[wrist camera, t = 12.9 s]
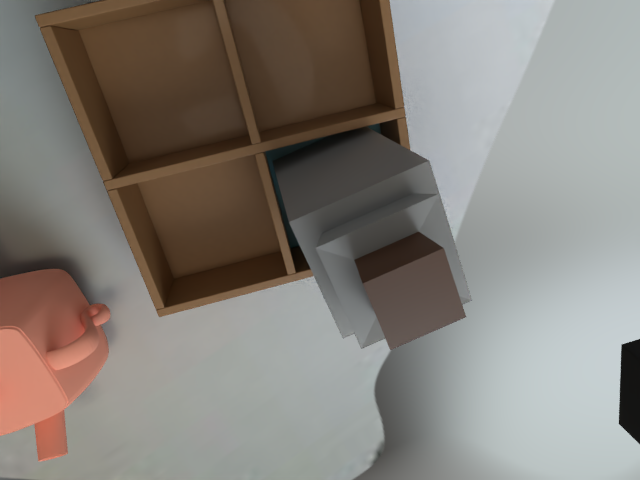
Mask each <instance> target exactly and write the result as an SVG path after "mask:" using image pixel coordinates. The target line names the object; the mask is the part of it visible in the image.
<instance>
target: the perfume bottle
mask: <svg viewBox="0 0 640 480" xmlns="http://www.w3.org/2000/svg"><path fill="white" fill-rule="evenodd" d="M272 162H273V166H274V169H275V173H276V177H277V180H278V184H279V188H280V191H281V195H282V199H283V203H284V206H285V210H286V214H287V217H288V221H289V224H290V226H291V228H292V230H293V232H294V234H295V236H296V239H297V241H298V243H299V245H300V247H301V249H302V252H303V254H304V256H305V258H306V260H307V262H308V264H309V267H310V269H311V271H312V273H313V275H314V277H315V279H316V282H317V284H318V286H319V288H320V290H321V292H322V295H323V297H324V299H325V301H326V303H327V305H328V307H329V310H330V312H331V314H332V316H333V318H334V320H335V322H336V325H337V327H338V329H339V331H340V333H341V335H342V337H343V338H345V337H348V336H350V335H352V334H355V336H356V338H357V340H358V343H359V345H360V347H361V349H362V348H364V347H367V346H369V345H371V344H374V343H376V342H378V341H380V340H383V339H385V338H386V341H387V343H388V345H389V348H390V350H392V349H394V348H396V347H399V346H401V345H403V344H406V343H408V342H410V341H412V340H415V339H417V338H419V337H421V336H424V335H426V334H428V333H431V332H433V331H435V330H438V329H440V328H442V327H444V326H447V325H449V324H451V323H453V322H456V321H458V320H460V319H463V318H465V317H466V315H465V312H464V309H463V306H462V305H463V304H465V303H467V302H469V301H472V299H471V295H470V292H469V289H468V286H467V281H466V278H465V275H464V272H463V268H462V265H461V262H460V259H459V256H458V252H457V249H456V246H455V243H454V239H453V236H452V233H451V230H450V226H449V223H448V220H447V217H446V213H445V210H444V207H443V204H442V201H441V197H440V194H439V191H438V188H437V184H436V181H435V178H434V175H433V171H432V168H431V165H430V162H429V160H427V159H425V158H423V157H422V156H420V155H418V154H416V153H414V152H412V151H410V150H409V149H407V148H405V147H403V146H401V145H399V144H397V143H396V142H394V141H392V140H390V139H388V138H386V137H385V136H383V135H381V134H379V133H377V132H375V131H373V130H372V129H370V128H368V127H362V128H358V129H354V130H350V131H346V132H342V133H338V134H334V135H330V136H328V137H326V138H324V139H321V140H319V141H317V142H315V143H312V144H310V145H308V146H305V147H303V148H301V149H299V150H296V151H294V152H292V153H290V154H287V155H285V156H283V157H281V158H278V159H276V160H274V161H272Z"/></svg>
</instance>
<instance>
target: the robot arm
mask: <svg viewBox="0 0 640 480" xmlns="http://www.w3.org/2000/svg"><path fill="white" fill-rule="evenodd" d="M619 409H620V410H619V424H620V425H621V426H622V427H623V428H624V429H625V430H626V431H627V432H628V433H629V434H630V435H631V436H632V437H633V438H634V439H635V440H636V441H637V442H638V443H639V444H640V339H639V340H635V341H632V342H629V343H626V344H623V345H622V351H621V379H620V408H619Z"/></svg>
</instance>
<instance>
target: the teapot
mask: <svg viewBox="0 0 640 480" xmlns="http://www.w3.org/2000/svg"><path fill="white" fill-rule="evenodd" d="M109 318H110V310H109V308H108V307H107V306H106V305H104V304H93V305H89V303H88V301H87V300H86V298H85V296H84V295H83V293H82V292H81V290H80V289H79V287H78V285H77V284H76V283H75V281H74V280H73V278H72V277H71V276H70V275H69V274H68V273H67V272H66V271H64V270H61V269H45V270H38V271H32V272H27V273H23V274H18V275H13V276H9V277H5V278H1V279H0V436H1V435H5V434H8V433H11V432H14V431H17V430H20V429H23V428H25V427H28V426H30V425H33V424H35V434H36V443H37V452H38V461H45V460H49V459H53V458H57V457H60V456H63V455H66V454H68V450H67V438H66V427H65V416H64V409H65V408H66V407H68V406H69V405H70V404H71V403H72V402H73V401H74V400H75V399H76V398H77V397H78V396H79V395H80V394H81V393H82V392H83V391H84V390H85V389H86V388H87V387H88V386H89V385H90V383H91V382H92V381H93V380H94V378H95V377H96V376H97V374H98V373H99V371H100V370H101V368H102V367H103V365H104V363H105V362H106V360H107V357H108V352H109V348H108V343H107V338H106V336H105V333H104V331H103V329H102V327H101V324H103V323H105V322H107V321H108V320H109Z"/></svg>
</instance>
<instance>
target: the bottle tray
mask: <svg viewBox="0 0 640 480" xmlns="http://www.w3.org/2000/svg"><path fill="white" fill-rule="evenodd" d="M35 18H36V21H37V23H38V25H39V27H41V28H40V30H41V33H42V35H43V38H44V40H45V42H46V45H47V47H48V50H49V52H50V54H51V57H52V59H53V62H54V64H55V67H56V69H57V71H58V74H59V76H60V79H61V81H62V83H63V86H64V88H65V91H66V93H67V96H68V98H69V100H70V103H71V105H72V108H73V110H74V112H75V115H76V117H77V120H78V122H79V125H80V127H81V129H82V132H83V134H84V137H85V139H86V141H87V144H88V146H89V149H90V151H91V154H92V156H93V158H94V161H95V163H96V166H97V168H98V170H99V173H100V175H101V178H102V180H103V183H104V185H105V188H106V190H108V191H107V192H108V195H109V197H110V200H111V202H112V204H113V207H114V209H115V212H116V214H117V216H118V219H119V221H120V224H121V226H122V229H123V231H124V233H125V236H126V238H127V241H128V243H129V245H130V248H131V250H132V253H133V255H134V258H135V260H136V262H137V265H138V267H139V270H140V272H141V274H142V277H143V279H144V282H145V284H146V287H147V289H148V291H149V294H150V296H151V299H152V301H153V303H154V306H155V308H156V309H157V310H156V311H157V313H158V316H159V317H162V316H165V315H169V314H173V313H177V312H180V311H184V310H188V309H192V308H195V307H199V306H203V305H207V304H210V303H214V302H218V301H222V300H225V299H229V298H233V297H237V296H240V295H244V294H248V293H252V292H256V291H259V290H263V289H267V288H271V287H274V286H278V285H282V284H286V283H289V282H293V281H297V280H301V279H304V278H308V277H312V276H314V275H313V273H312V271H311V269H310V267H309V264H308V262H307V260H306V258H305V256H304V254H303V252H302V249H301V247H300V245H299V243H298V241H297V239H296V236H295V234H294V232H293V230H292V228H291V226H290V224H289V221H288V217H287V214H286V210H285V206H284V203H283V199H282V195H281V191H280V188H279V184H278V180H277V177H276V173H275V169H274V166H273V162H272V161H274V160H276V159H278V158H281V157H283V156H285V155H287V154H290V153H292V152H294V151H296V150H299V149H301V148H303V147H305V146H308V145H310V144H312V143H315V142H317V141H319V140H321V139H324V138H326V137H328V136H330V135H334V134H338V133H342V132H346V131H350V130H354V129H358V128H362V127H368V128H370V129H372V130H373V131H375V132H377V133H379V134H381V135H383V136H385V137H386V138H388V139H390V140H392V141H394V142H396V143H397V144H399V145H401V146H403V147H405V148H407V149H409V150H410V144H409V137H408V130H407V123H406V117H405V109H404V102H403V95H402V88H401V80H400V73H399V66H398V59H397V52H396V45H395V38H394V30H393V23H392V16H391V9H390V2H389V0H101V1H97V2H92V3H88V4H83V5H79V6H74V7H70V8H65V9H61V10H56V11H52V12H47V13H43V14H38V15H35Z"/></svg>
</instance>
